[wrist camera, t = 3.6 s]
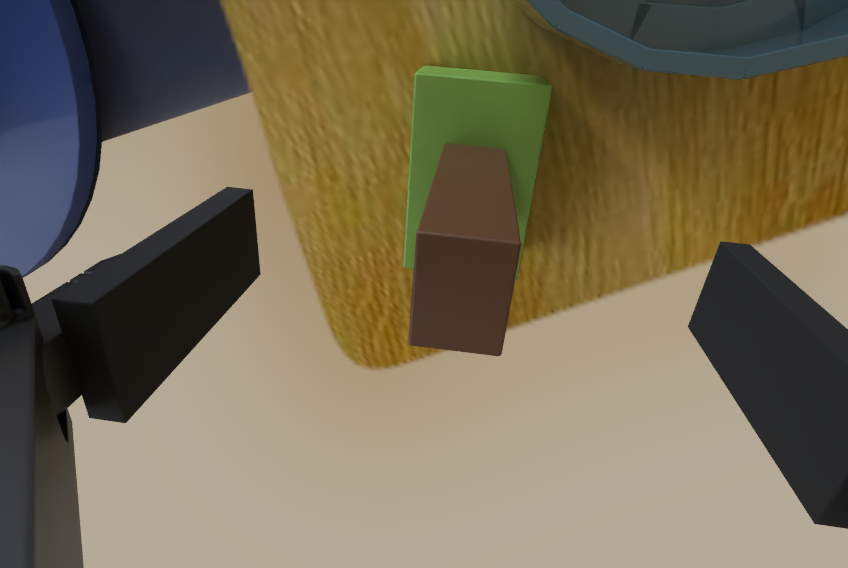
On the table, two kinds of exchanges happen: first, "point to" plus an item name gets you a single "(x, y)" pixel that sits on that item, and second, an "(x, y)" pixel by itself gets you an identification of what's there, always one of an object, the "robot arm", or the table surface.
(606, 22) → the bowl
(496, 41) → the table surface
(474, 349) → the sponge brush
